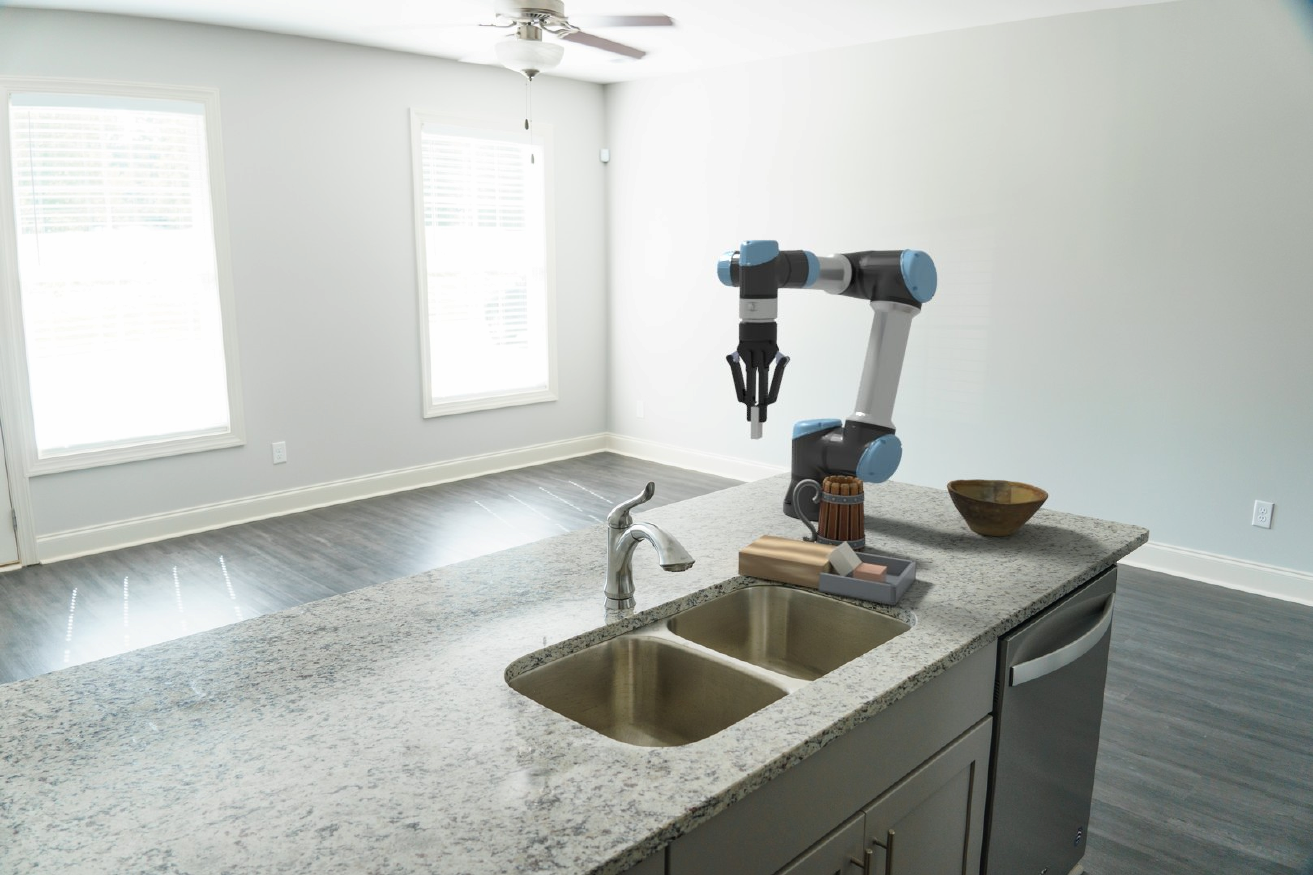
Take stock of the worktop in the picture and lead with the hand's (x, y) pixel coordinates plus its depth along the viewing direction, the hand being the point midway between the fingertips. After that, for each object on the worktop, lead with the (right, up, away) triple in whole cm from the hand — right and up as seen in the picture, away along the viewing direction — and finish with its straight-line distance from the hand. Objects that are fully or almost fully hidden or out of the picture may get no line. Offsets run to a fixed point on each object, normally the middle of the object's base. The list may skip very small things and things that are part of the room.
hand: (756, 437), depth 179 cm
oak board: (+6, -27, -3) cm, 27 cm away
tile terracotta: (+20, -25, -12) cm, 34 cm away
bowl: (+57, -22, +25) cm, 66 cm away
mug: (+17, -24, +12) cm, 32 cm away
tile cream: (+15, -24, -9) cm, 30 cm away
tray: (+20, -28, -11) cm, 36 cm away
